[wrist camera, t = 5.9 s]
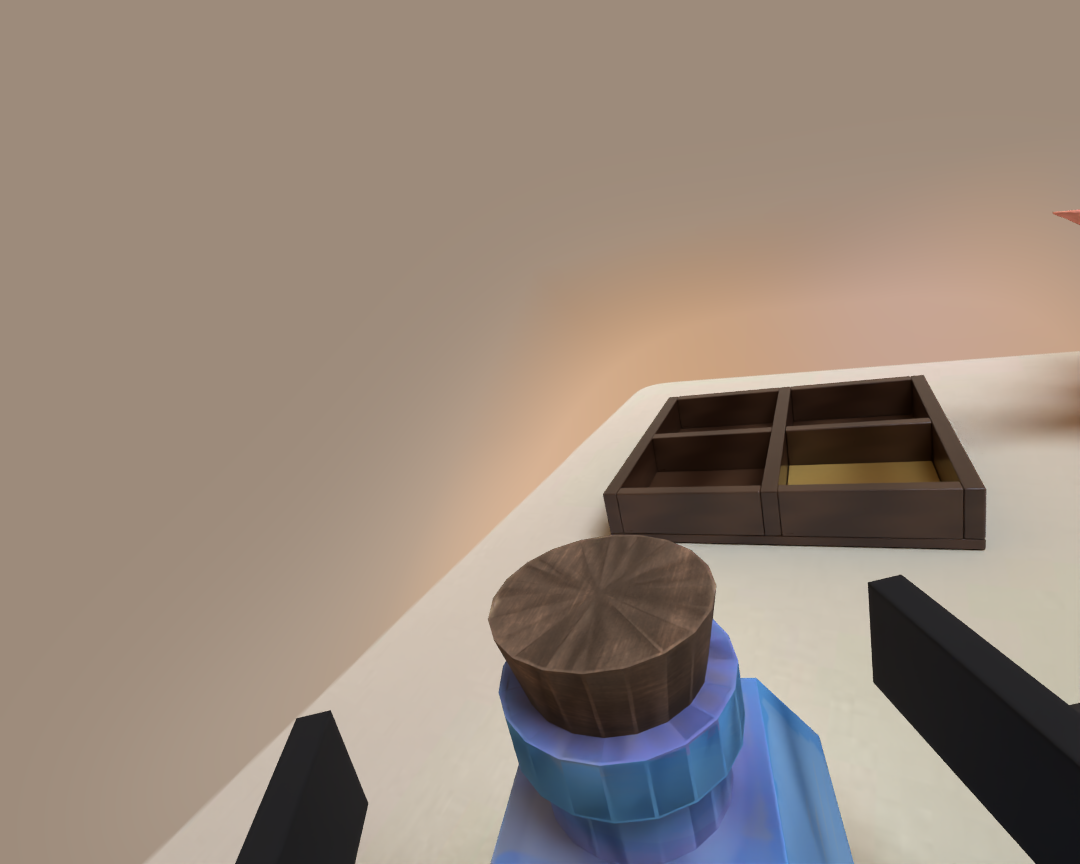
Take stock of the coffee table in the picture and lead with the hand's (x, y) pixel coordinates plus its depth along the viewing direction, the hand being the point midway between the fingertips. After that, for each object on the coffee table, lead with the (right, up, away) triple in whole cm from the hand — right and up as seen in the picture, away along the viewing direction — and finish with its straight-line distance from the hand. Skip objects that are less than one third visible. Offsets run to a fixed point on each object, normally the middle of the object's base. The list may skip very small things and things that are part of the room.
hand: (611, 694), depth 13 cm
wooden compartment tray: (+14, +3, +24) cm, 28 cm away
